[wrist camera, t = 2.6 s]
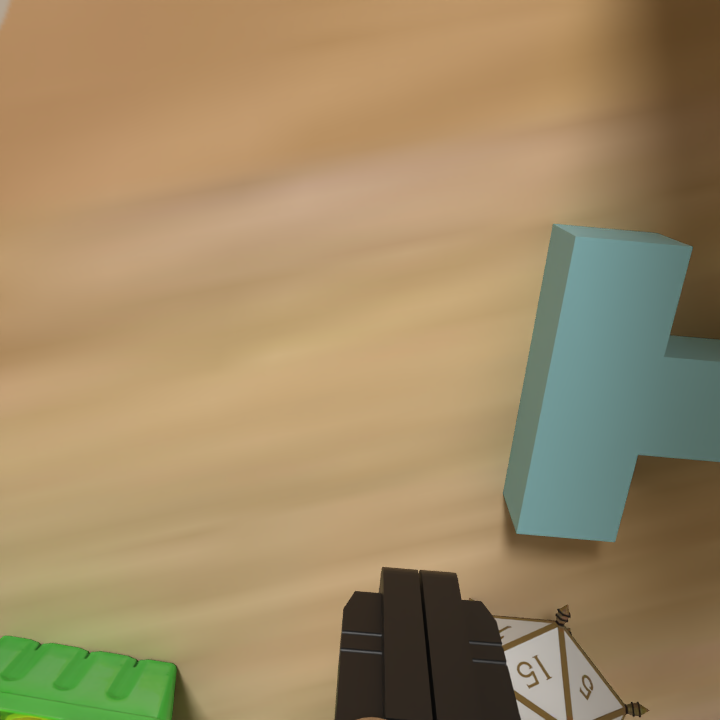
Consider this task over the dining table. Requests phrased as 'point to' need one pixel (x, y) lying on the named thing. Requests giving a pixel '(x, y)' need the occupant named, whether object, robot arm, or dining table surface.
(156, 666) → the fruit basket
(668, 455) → the teal T block
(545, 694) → the game die
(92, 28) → the dining table surface
